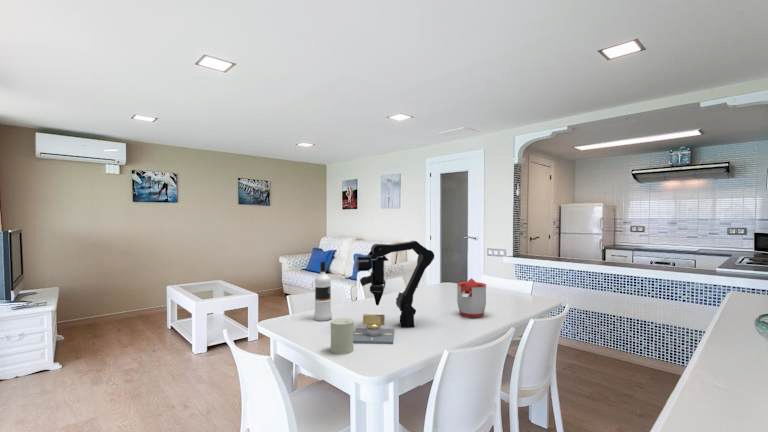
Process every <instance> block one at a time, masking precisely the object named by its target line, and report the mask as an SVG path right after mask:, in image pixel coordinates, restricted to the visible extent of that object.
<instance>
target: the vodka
mask: <svg viewBox="0 0 768 432" xmlns="http://www.w3.org/2000/svg"><path fill="white" fill-rule="evenodd" d="M319 269H320V274H319V275H317V276H316V277H315V279H314V287H315V288H314V314H313V319H314V320H315V321H317V322H327V321H331V320H332V317H333V313H332V307H331V306H332V305H331V303H332V299H331V298H332V297H331V296H332V295H331V293H332V292H331V290H332V288H331V281H332V279H331V277H330V276H329V275H327V274H326V261H324V260H321V261H320V267H319Z"/></svg>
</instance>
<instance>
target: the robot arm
mask: <svg viewBox="0 0 768 432" xmlns="http://www.w3.org/2000/svg"><path fill="white" fill-rule="evenodd" d="M410 250H413V251H414V253H416V254H417V259H416V261H417V262H416V266H415V268H414V269H413V272H412V274H411V277H410V278H409V281H408V282H407V285H406V286H405V289H404V290H403V292H398V294H397V297H396V298H395V300H396V301H395V304H396V308H398V309H399V311H400V315H399V325H400V328H415V314H416V313H417V310H416V309H415V307H413V306H412V305H413V302H414V294H415V292H416V290H417V288H418V285H419V284H420V282H421V279H422V278H423V275H424V273H425V270H426V269H427V268H428V267H429V266H430V265H431V264H432V262H433V260H434V259H435V253H434V252H433V250H431V249H428V248H426V247H424V246H423V245H422V244H421V243H419V242H418V241H417V240H410V241H405V242H398V243H397V242H396V243H391V244H386V243H374V244H373V245H371V247H370V251H369V253H368V254H367V255H366V256H356V263H355V268H356V269H355V270H356V271H357V272H369V271H370V270H371V273H370V275H367V276H362V277H361V278H360V279H359V282H360V284H361V286H362V287H364V286H366V285H368V284H370V286H369V292H370V293H371V294H372V295H373V297H374V301H375V305H376V306H379V305H380V302H381V300H382V297H383V294H384V291H385V287H386V282H387V281H386V280H385V262H386V261H387V262H388V261H389V259H388V258H387V257H386V255H389V254H391V253H395V252H396V253H397V252H403V251H410Z"/></svg>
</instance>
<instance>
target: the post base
mask: <svg viewBox="0 0 768 432" xmlns="http://www.w3.org/2000/svg"><path fill="white" fill-rule="evenodd" d="M395 331H396V330H395V328H379V329H368V328H365V327H363V328H361V327H356V328H355V329H354V331H353V344H365V345H367V344H368V345H369V344H375V345H377V344H378V345H394V339H395Z"/></svg>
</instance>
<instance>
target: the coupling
mask: <svg viewBox="0 0 768 432" xmlns="http://www.w3.org/2000/svg"><path fill="white" fill-rule="evenodd" d="M385 317H386V316H385V314H370V313H369V314H368V313H367V314H366V313H365V314H363V315H362V325H365V327H366V328H368V329H379V328H380V329H382V328H381V327H382V326H385V321H386V320H385Z"/></svg>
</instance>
